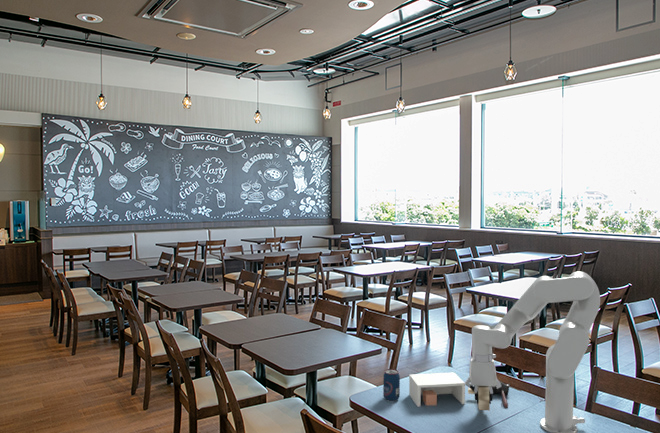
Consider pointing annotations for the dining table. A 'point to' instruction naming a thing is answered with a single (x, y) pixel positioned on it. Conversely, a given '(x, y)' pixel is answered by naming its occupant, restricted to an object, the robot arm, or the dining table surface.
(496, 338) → the robot arm
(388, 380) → the soda can
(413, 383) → the shelf cubby
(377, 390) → the dining table surface
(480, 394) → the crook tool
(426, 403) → the block
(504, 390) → the coffee pot
